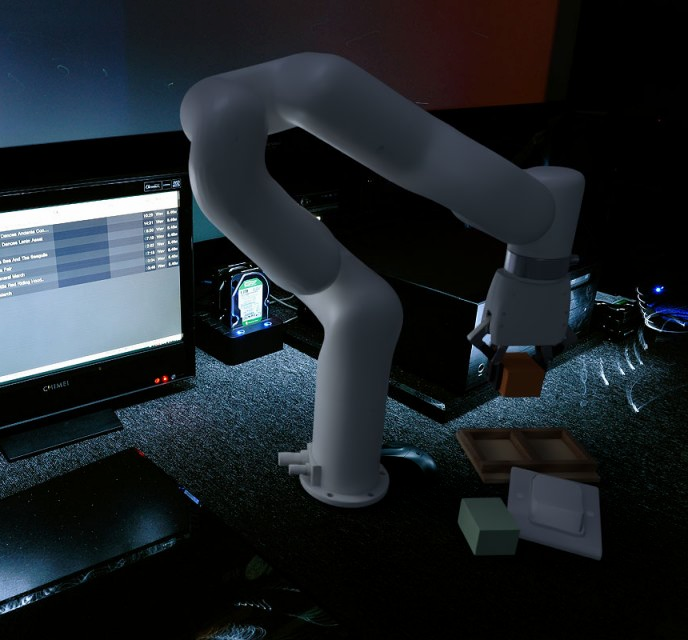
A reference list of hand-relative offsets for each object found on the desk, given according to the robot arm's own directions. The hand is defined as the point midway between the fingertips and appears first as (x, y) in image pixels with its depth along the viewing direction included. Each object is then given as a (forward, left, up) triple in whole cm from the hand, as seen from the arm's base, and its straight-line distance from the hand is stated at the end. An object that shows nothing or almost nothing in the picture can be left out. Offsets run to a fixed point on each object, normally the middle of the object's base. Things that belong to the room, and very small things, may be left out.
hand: (513, 383), depth 94 cm
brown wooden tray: (+4, 0, -13) cm, 14 cm away
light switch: (+2, -13, -13) cm, 18 cm away
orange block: (0, 0, 0) cm, 0 cm away
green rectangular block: (-8, -17, -13) cm, 23 cm away
